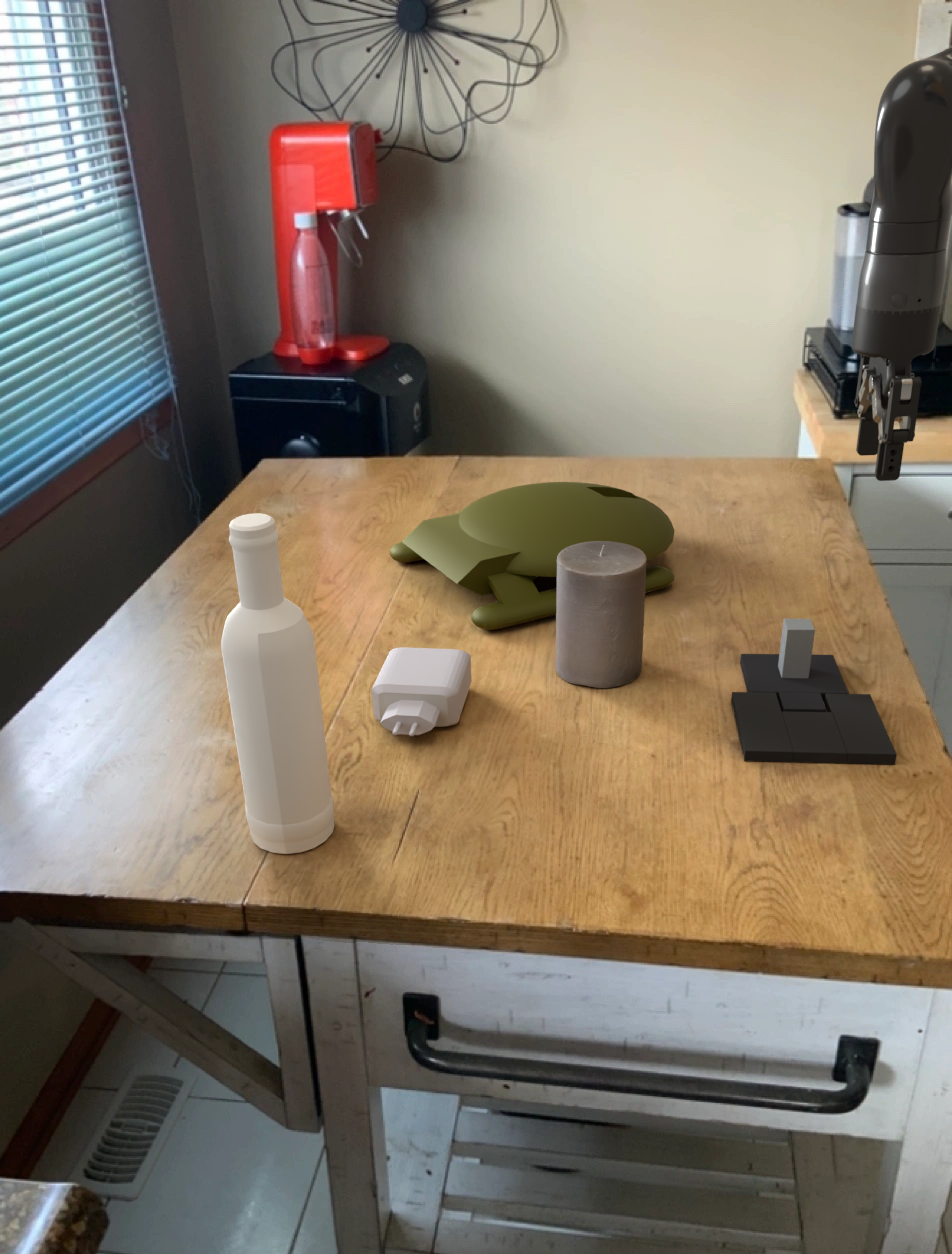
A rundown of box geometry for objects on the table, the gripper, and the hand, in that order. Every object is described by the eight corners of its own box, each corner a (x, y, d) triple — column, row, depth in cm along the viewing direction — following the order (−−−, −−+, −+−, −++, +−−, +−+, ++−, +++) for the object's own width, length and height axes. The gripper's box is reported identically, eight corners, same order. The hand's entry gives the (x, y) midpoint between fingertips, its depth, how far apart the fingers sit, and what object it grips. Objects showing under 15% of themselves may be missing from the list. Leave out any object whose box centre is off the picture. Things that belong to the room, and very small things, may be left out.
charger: (360, 752, 115) (391, 683, 128) (449, 758, 113) (471, 687, 126) (356, 712, 113) (388, 646, 126) (447, 717, 111) (470, 649, 124)
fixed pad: (868, 703, 118) (870, 693, 118) (895, 764, 108) (897, 754, 107) (731, 701, 120) (732, 691, 120) (744, 761, 110) (745, 750, 109)
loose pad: (831, 663, 126) (840, 606, 123) (854, 720, 116) (864, 659, 112) (739, 662, 128) (745, 606, 124) (753, 718, 117) (760, 657, 113)
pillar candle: (616, 644, 134) (621, 523, 126) (657, 679, 125) (664, 553, 118) (540, 660, 131) (541, 537, 124) (577, 696, 123) (580, 568, 116)
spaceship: (483, 638, 137) (481, 563, 132) (384, 558, 161) (379, 491, 157) (719, 579, 148) (725, 508, 144) (593, 512, 173) (595, 449, 168)
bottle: (333, 801, 108) (300, 499, 93) (338, 850, 101) (303, 532, 86) (249, 811, 107) (202, 508, 92) (249, 860, 100) (198, 542, 85)
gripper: (962, 312, 101) (934, 488, 109) (920, 285, 113) (897, 445, 121) (874, 316, 102) (852, 490, 110) (842, 289, 114) (825, 447, 122)
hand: (876, 466), depth 115 cm, fingers open, 8 cm apart
